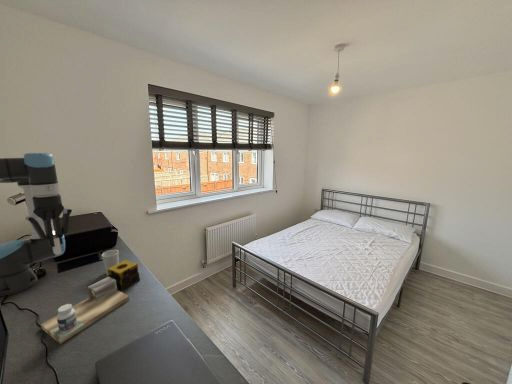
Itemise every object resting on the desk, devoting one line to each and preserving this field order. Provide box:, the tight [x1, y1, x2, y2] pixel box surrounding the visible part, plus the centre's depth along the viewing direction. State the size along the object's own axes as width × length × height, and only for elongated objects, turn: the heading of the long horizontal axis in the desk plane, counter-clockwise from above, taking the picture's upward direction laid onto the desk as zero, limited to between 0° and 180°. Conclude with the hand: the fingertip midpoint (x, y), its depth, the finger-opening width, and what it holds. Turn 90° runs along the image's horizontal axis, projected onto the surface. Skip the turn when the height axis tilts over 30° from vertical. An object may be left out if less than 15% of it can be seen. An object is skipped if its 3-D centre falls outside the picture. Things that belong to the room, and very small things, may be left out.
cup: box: [101, 249, 120, 276], centre depth 120 cm, size 8×8×12 cm
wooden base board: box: [40, 276, 130, 345], centre depth 91 cm, size 16×26×8 cm, turn 154°
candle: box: [108, 259, 141, 291], centre depth 111 cm, size 10×10×10 cm
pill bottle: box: [56, 303, 77, 333], centre depth 80 cm, size 5×5×9 cm
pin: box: [87, 291, 95, 298], centre depth 99 cm, size 3×8×3 cm, turn 154°
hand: (57, 253), depth 83 cm, fingers closed
